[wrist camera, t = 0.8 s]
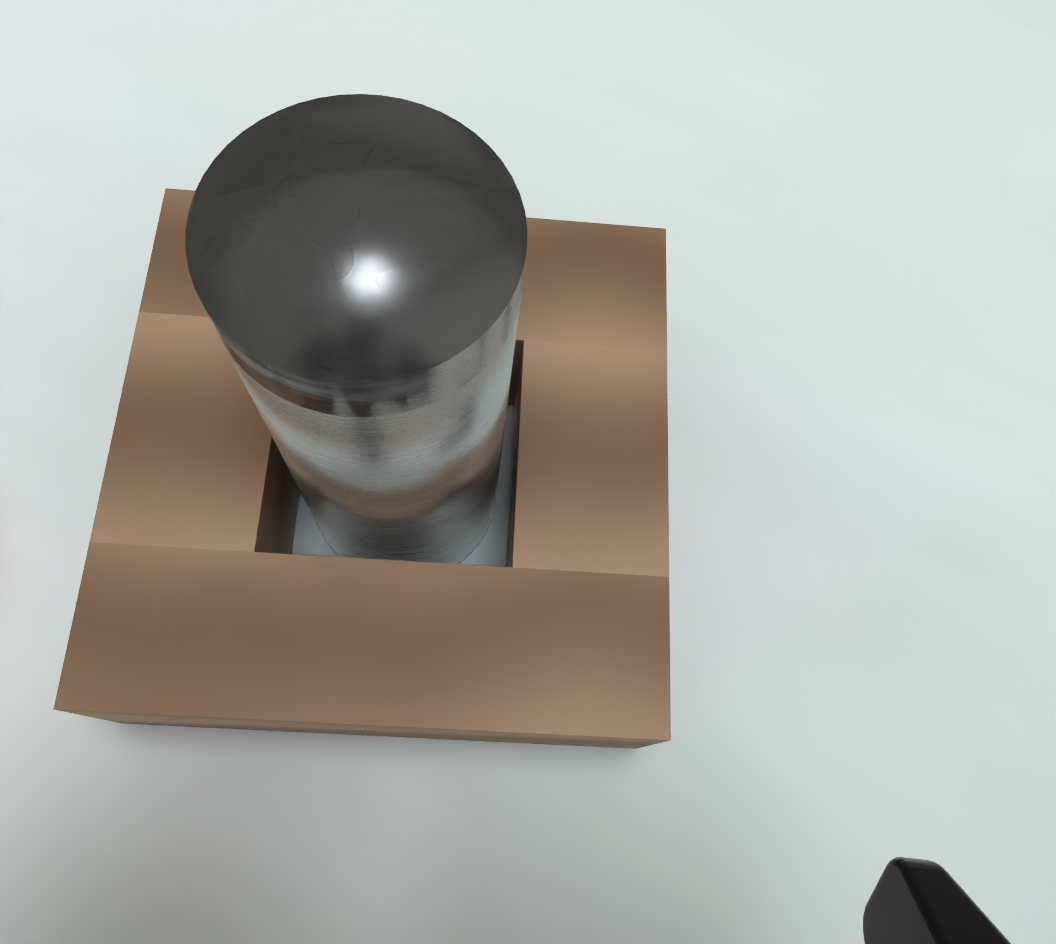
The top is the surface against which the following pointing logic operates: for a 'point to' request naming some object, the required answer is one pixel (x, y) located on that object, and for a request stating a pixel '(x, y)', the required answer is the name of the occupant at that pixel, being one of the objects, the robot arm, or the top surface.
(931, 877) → the robot arm
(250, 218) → the shiny metal cylinder
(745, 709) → the top surface
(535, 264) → the housing
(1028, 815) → the top surface
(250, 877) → the top surface
